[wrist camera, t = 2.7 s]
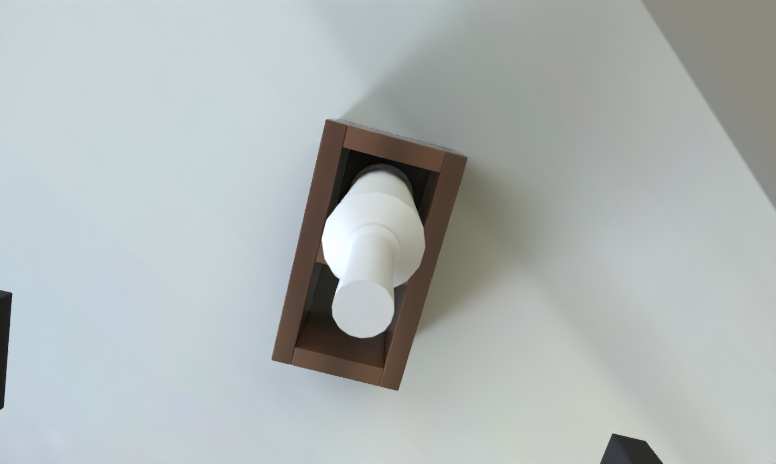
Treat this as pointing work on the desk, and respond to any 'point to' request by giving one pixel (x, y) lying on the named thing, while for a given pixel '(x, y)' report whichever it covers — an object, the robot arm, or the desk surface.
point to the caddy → (298, 323)
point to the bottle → (372, 248)
